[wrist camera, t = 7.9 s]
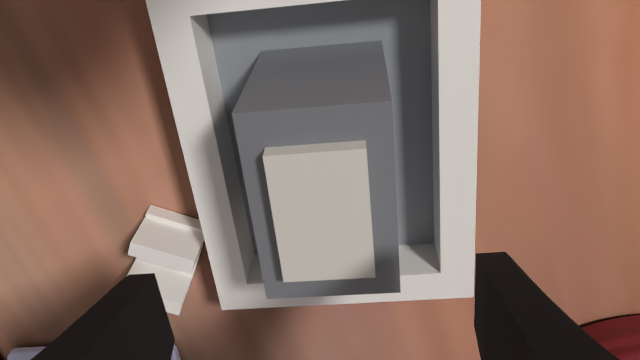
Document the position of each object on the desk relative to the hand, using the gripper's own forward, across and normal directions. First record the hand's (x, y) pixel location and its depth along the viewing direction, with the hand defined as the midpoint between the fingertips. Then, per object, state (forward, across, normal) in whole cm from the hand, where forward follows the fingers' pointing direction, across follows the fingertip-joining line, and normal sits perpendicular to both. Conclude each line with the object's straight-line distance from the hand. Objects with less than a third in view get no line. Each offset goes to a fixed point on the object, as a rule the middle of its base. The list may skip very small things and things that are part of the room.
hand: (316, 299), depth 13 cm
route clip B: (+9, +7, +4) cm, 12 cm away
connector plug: (+9, 0, 0) cm, 9 cm away
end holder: (+9, 0, 0) cm, 9 cm away
